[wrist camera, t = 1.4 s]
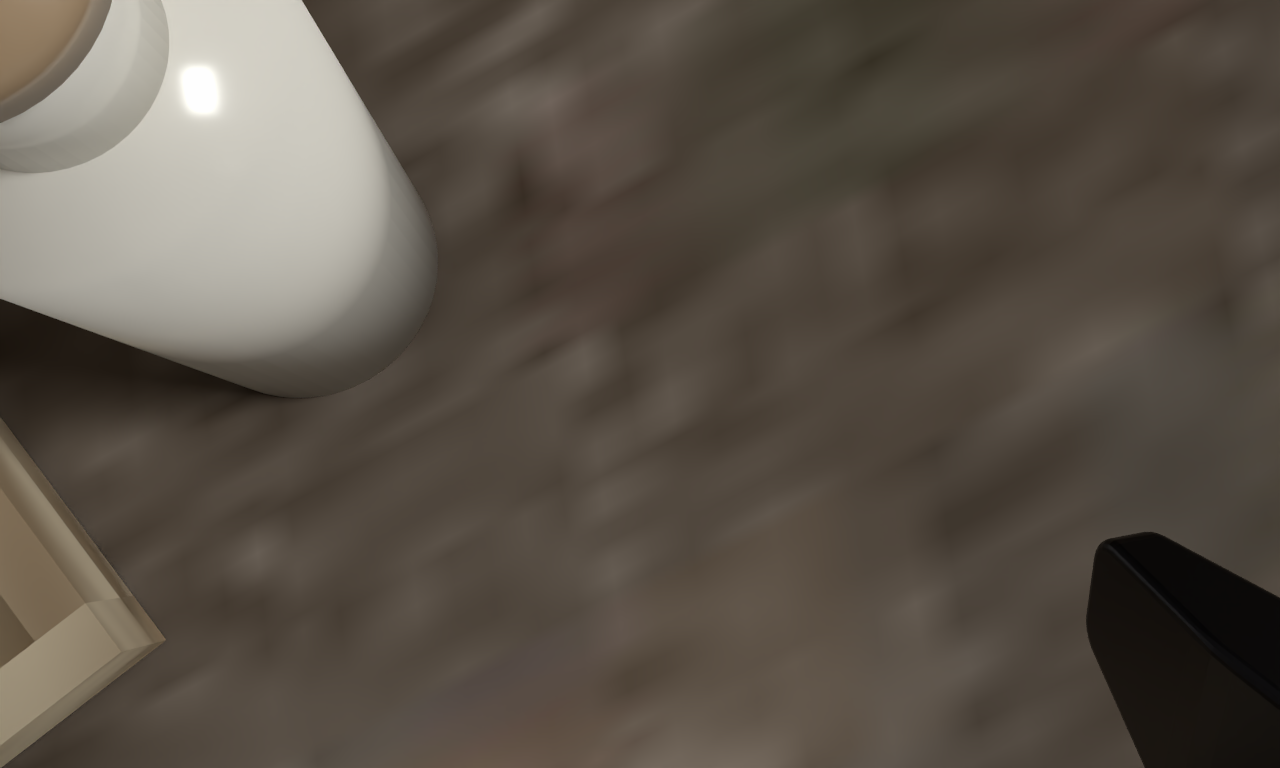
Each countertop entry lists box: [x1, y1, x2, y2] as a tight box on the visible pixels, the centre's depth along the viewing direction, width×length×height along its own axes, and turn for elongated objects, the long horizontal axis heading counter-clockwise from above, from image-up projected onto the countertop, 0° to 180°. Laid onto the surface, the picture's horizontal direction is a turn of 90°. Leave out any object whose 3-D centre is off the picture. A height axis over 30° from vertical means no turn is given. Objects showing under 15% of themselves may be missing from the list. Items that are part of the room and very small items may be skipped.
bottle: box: [0, 0, 438, 398], centre depth 16 cm, size 5×5×13 cm
